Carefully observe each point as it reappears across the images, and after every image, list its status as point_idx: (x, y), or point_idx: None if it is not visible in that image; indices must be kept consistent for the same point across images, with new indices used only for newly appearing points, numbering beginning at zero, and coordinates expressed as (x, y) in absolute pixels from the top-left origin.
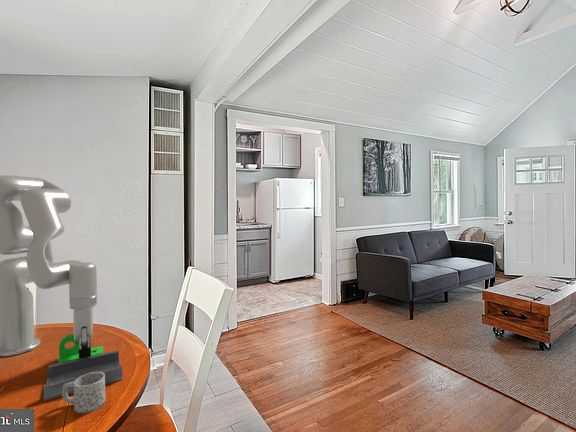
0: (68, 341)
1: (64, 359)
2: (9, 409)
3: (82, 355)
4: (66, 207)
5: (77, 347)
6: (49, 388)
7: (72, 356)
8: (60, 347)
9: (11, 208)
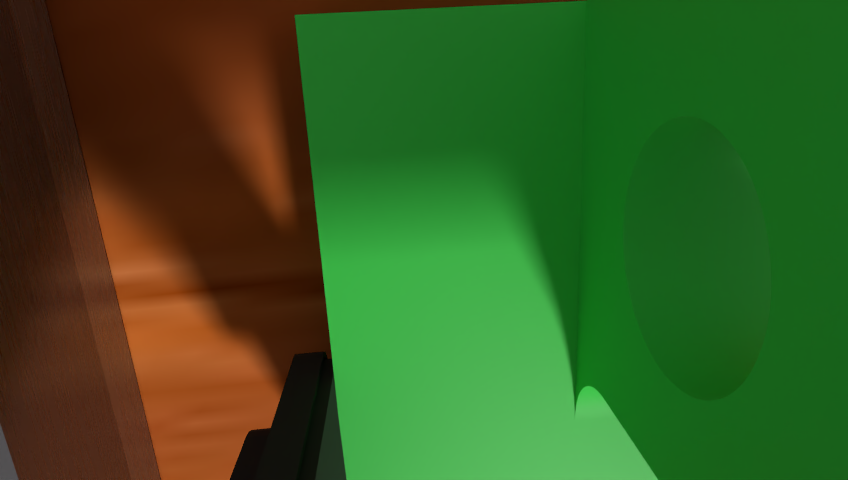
0: (781, 292)
1: (408, 123)
2: None
3: (239, 477)
4: None
5: (624, 389)
6: None
7: (480, 252)
8: (709, 6)
9: None
